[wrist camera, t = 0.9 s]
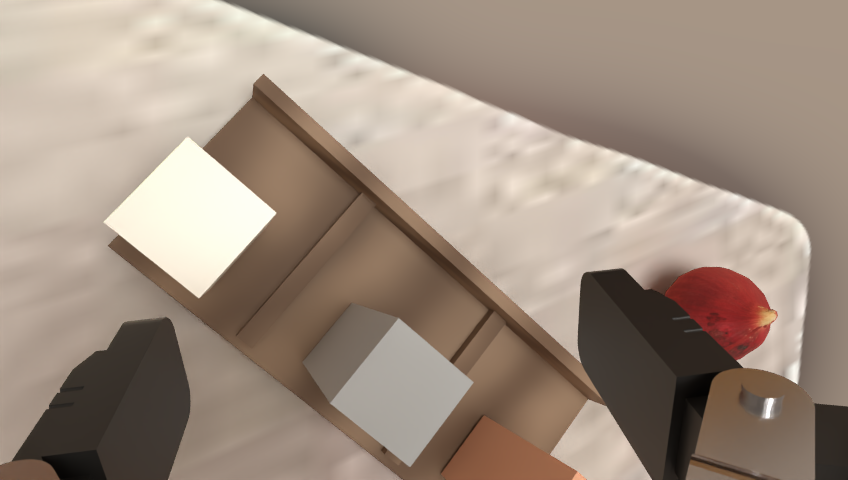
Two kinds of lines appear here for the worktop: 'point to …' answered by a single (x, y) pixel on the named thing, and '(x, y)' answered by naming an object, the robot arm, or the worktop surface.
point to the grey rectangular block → (386, 379)
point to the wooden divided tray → (368, 287)
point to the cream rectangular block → (191, 218)
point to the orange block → (503, 458)
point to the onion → (725, 307)
